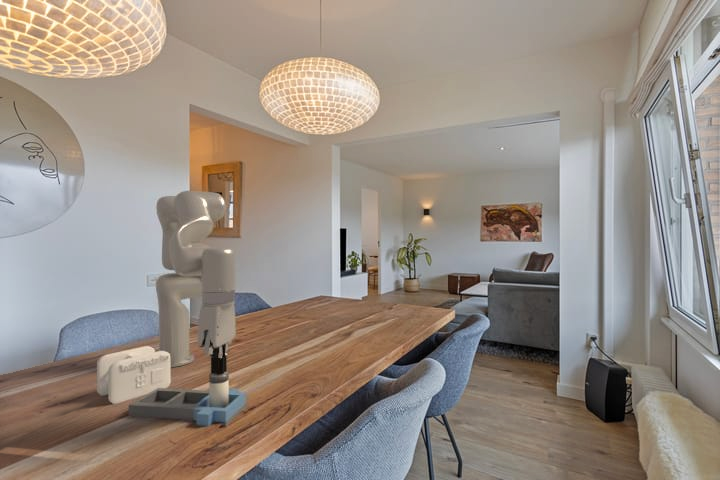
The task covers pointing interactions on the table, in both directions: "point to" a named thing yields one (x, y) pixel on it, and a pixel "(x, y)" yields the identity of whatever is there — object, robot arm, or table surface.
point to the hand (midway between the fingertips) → (218, 372)
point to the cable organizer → (132, 373)
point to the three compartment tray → (187, 406)
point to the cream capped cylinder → (219, 390)
